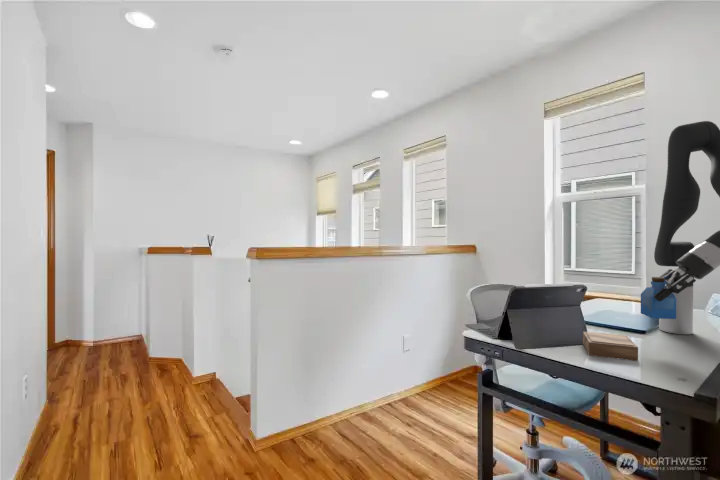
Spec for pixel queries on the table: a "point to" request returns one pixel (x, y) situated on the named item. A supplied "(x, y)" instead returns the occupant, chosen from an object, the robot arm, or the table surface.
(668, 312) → the perfume bottle
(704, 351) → the table surface
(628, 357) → the block
